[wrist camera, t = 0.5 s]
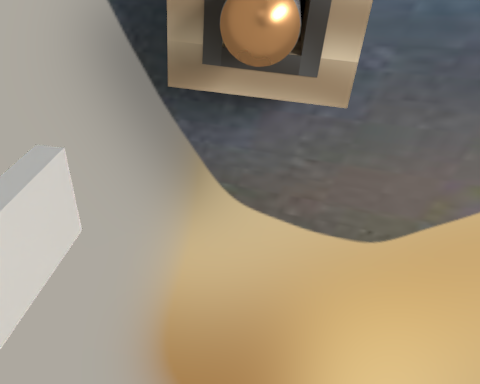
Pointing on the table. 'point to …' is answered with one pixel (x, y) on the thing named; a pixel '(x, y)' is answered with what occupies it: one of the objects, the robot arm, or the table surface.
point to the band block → (281, 73)
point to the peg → (260, 29)
